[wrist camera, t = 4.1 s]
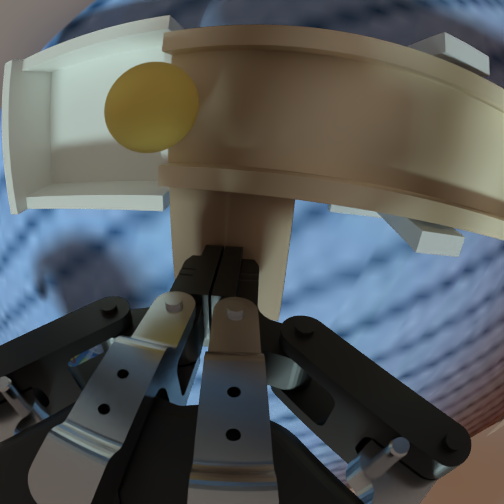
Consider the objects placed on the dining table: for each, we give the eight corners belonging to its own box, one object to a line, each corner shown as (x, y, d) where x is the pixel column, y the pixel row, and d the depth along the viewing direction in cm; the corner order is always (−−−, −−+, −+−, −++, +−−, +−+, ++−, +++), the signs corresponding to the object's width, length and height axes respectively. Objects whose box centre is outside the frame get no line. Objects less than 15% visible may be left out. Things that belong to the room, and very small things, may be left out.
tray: (190, 35, 12) (162, 8, 8) (184, 190, 17) (156, 218, 13) (51, 65, 13) (5, 63, 8) (54, 191, 17) (11, 214, 13)
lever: (576, 155, 6) (605, 167, 3) (520, 326, 11) (537, 353, 9) (185, 43, 9) (153, 27, 7) (185, 290, 14) (163, 324, 12)
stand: (429, 64, 12) (512, 52, 5) (409, 219, 17) (474, 281, 10) (344, 38, 12) (400, -10, 5) (328, 208, 17) (368, 276, 10)
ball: (164, 72, 9) (222, 60, 7) (161, 145, 11) (217, 151, 9) (91, 71, 7) (137, 47, 5) (91, 157, 8) (134, 163, 7)
